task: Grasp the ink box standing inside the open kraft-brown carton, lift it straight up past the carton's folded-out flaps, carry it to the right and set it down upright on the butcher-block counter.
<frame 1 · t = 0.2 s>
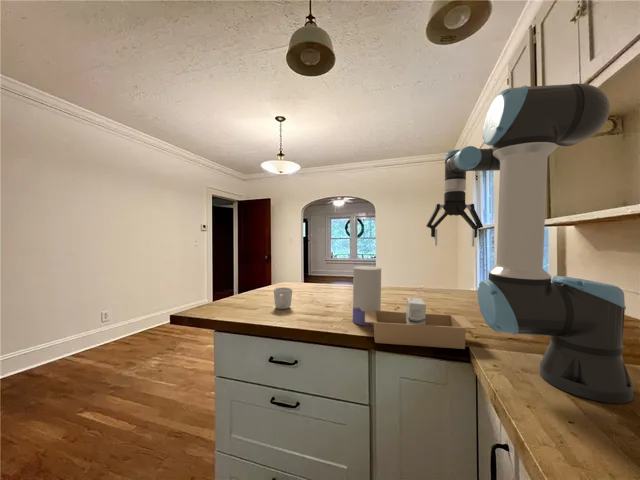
hand: (453, 246, 113), 28 cm above the counter, fingers open, 13 cm apart
cup: (282, 309, 122), on the counter
carton: (415, 337, 90), on the counter
container: (366, 322, 105), on the counter
ink box: (414, 338, 90), resting in carton
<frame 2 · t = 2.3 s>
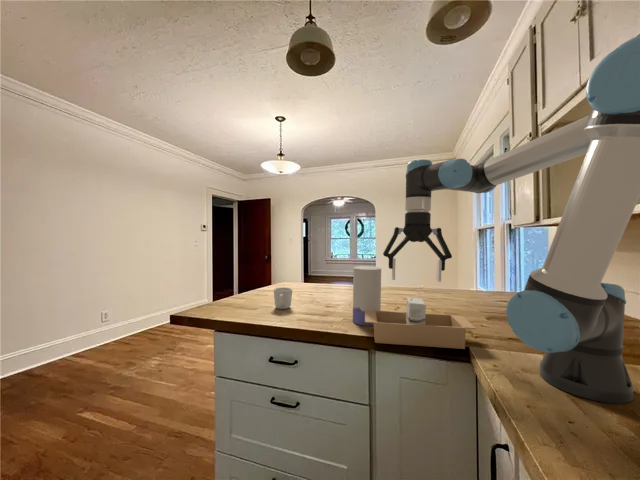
hand: (415, 280, 90), 18 cm above the counter, fingers open, 13 cm apart
nothing on the counter moved.
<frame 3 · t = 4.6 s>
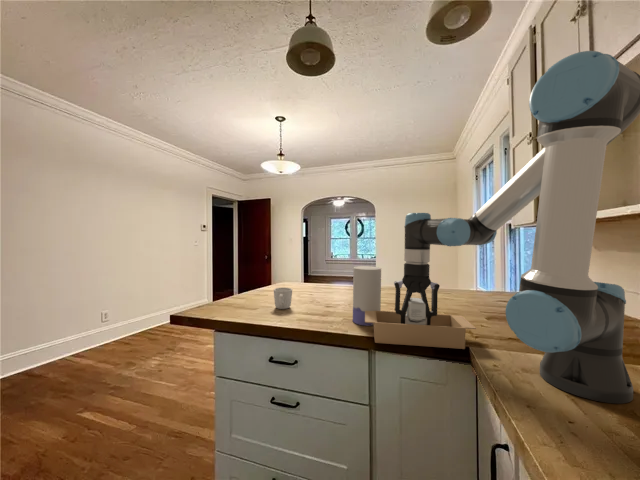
hand: (415, 336, 90), 0 cm above the counter, fingers closed on ink box, 5 cm apart
ink box: (415, 338, 90), resting in carton, touching gripper
everything else where it was.
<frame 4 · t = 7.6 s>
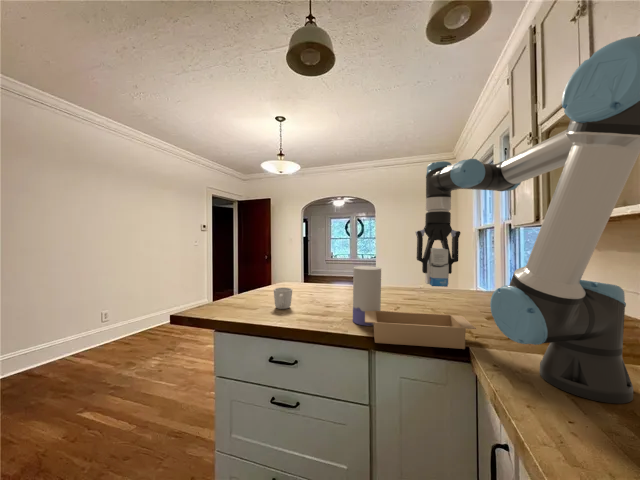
hand: (436, 283, 93), 17 cm above the counter, fingers closed on ink box, 5 cm apart
ink box: (436, 285, 93), point 16 cm above the counter, touching gripper
everything else where it was.
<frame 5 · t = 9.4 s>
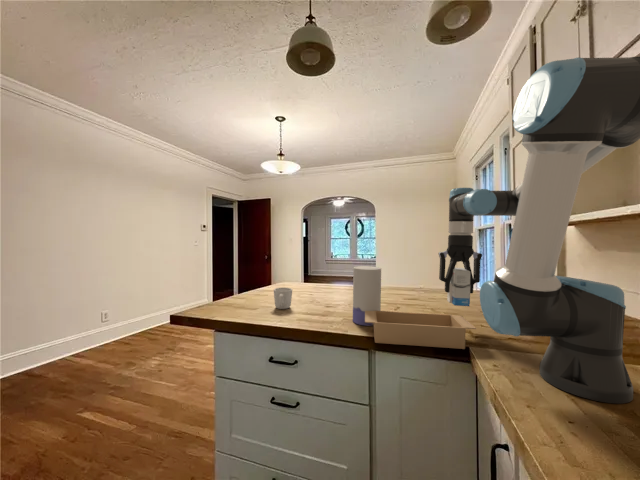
hand: (458, 302, 98), 9 cm above the counter, fingers closed on ink box, 5 cm apart
ink box: (458, 303, 99), point 9 cm above the counter, touching gripper
everything else where it was.
when the fingers open (2 cm above the counter, at t = 10.7 s): ink box drops 2 cm, on the counter.
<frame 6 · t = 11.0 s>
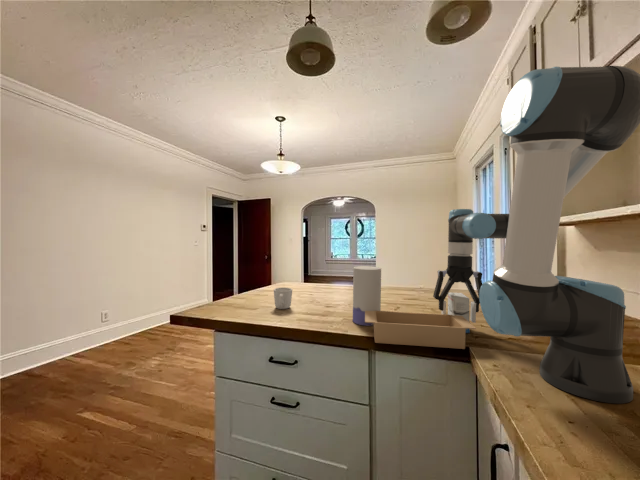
hand: (458, 320, 98), 3 cm above the counter, fingers open, 9 cm apart
ink box: (458, 329, 99), on the counter
everything else where it was.
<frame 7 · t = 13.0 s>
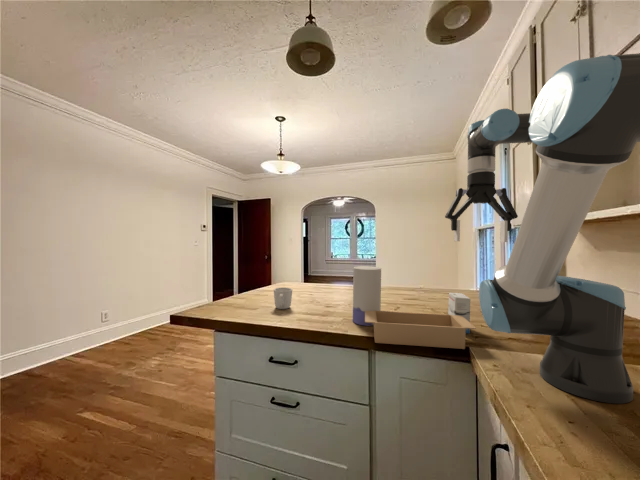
hand: (480, 241, 89), 30 cm above the counter, fingers open, 13 cm apart
nothing on the counter moved.
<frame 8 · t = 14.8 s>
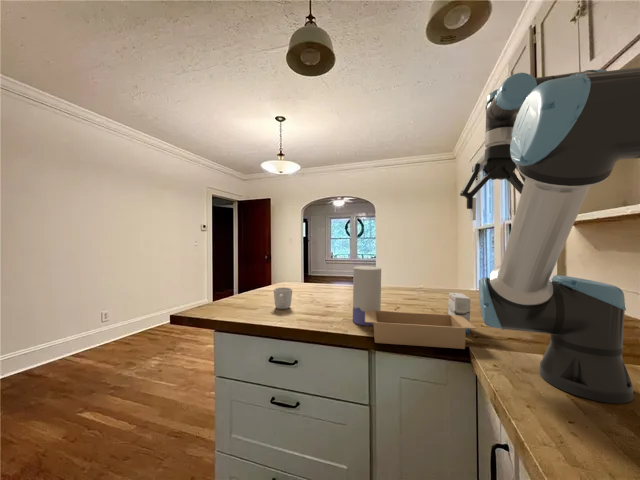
hand: (497, 220, 84), 37 cm above the counter, fingers open, 13 cm apart
nothing on the counter moved.
at the end: ink box inside the target area (0.1 cm from its centre), on the counter; ink box tilted 0°; the gripper is holding nothing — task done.
